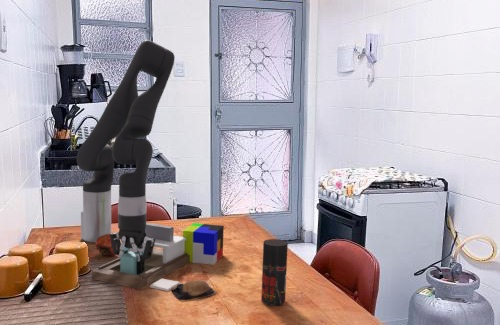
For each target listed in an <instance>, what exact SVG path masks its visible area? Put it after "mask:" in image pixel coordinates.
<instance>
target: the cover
mask: <svg viewBox="0 0 500 325" xmlns="http://www.w3.org/2000/svg"><path fill="white" fill-rule="evenodd" d="M174 232H175V230H174V226H173V225H172V226H171V225H164V224H157V223H152V222H151V223H149V222H146V229H145V233H146V236H147V237H148V238H150V239H152V238H154V239H155V244H154V247H155V248H159V249H161V248H162V250H163V263H168V262H169V261H171V260H173V259H175V258H177V257H179V256H181V255H183V254H185V241H186V238H185V237H183V236H180V235H179V236H178V235H174ZM143 244H145V241H144V242H143ZM154 247H153V248H154ZM144 248H145V245H144ZM138 249H139V248H138ZM130 251H131V252H133V249H132V248H130V249H129V252H130Z"/></svg>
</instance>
